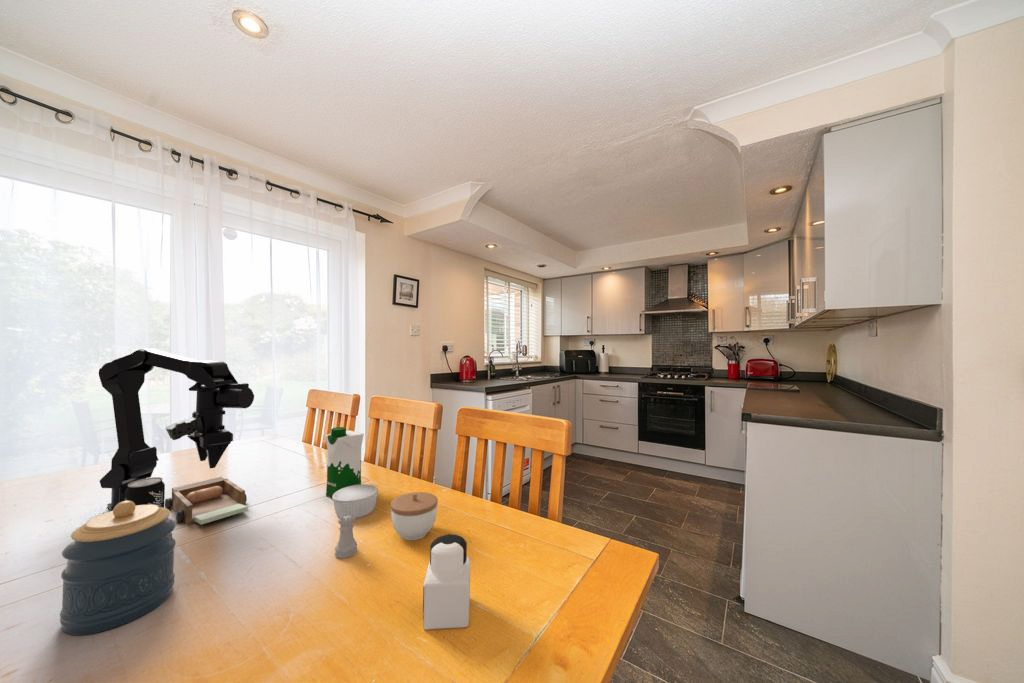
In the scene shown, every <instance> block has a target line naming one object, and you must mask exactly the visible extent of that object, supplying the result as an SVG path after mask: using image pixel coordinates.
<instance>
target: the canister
mask: <svg viewBox="0 0 1024 683" xmlns="http://www.w3.org/2000/svg"><path fill="white" fill-rule="evenodd" d="M170 515H171V511H170V509H169V508H168V509H166V508H165V507H164V508H162V507H159V506H157V505H137V506H135V503H134V502H132V501H123V502H120V503H118V504H117V505H116V506H115V507H114V509H113V511H110V510H109V511H107V512H104V513H101V514H99V515H97V516H95V517H93V518H90V519H88V520H87V521H86V523H84V524H83V525H81V526H79V527H78V528H76V529H75V530H74V531H72V532H71V536H70V538H71V540H73V541H72V542H70V543H69V544H68V545H66V546H65V547H64V549H63V550H62V552H61V555H62V557H63V558H64V559H65V560H67V562H66V566H65V567H64V568H63V570H62V572H61V573H60V574H61V576H60V578H61V579H62V598H61V599H62V602H61V607H62V608H61V610H60V613H59V616H60V618H59V622H60V625H61V627H62V628H61V629H62V631H63V633H66V634H67V635H68V634H69V635H72V636H75V635H76V636H78V635H79V636H81V635H82V636H83V635H90V634H91V635H92V634H95V633H96V634H97V633H100V632H105V631H107V630H110V629H114V628H117V627H120V626H122V625H125V624H127V623H130V622H132V621H134V620H136V619H138V618H141V617H142V616H144V615H146V614H148V613H149V612H151V611H153V610H154V609H155V608H158V607H159V606H160V605H161V604H162V603H163V602H165V601H166V600H167V599H168V598H169V596H170V595H171V593H172V592H173V586H174V585H175V576H176V575H175V573H174V565H175V564H174V563H175V561H174V560H175V546H176V540H175V538H174V537H173V534H172V532H173V531H174V529H175V528H176V527H177V521H175V520H174V519H172V518H169V517H170Z"/></svg>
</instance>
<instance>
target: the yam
mask: <svg viewBox="0 0 1024 683" xmlns="http://www.w3.org/2000/svg"><path fill="white" fill-rule="evenodd" d="M222 493H223V489H222V487H220V486H214V487H210V488H206V489H202V490H198V491H194V492H191V493H189V494H188V495H187V496H186V499H187V500H188V501H189V502H190V503H191V504H195V503H199V502H202V501H206V500H210V499H214V498H217V497H219V496H220V495H221V494H222Z"/></svg>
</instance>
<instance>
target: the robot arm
mask: <svg viewBox="0 0 1024 683" xmlns="http://www.w3.org/2000/svg"><path fill="white" fill-rule="evenodd" d="M154 368H160V369H164V370H167V371H170V372H171V371H172V372H176V373H180V374H183V375H185V376H186V378H187V379H189V380H191V381H193V382H195V384H193V385H192V386H190V387H188V391H190V392H196V402H195V403H196V404H195V410H194V411H193V412H192V413H191V414H192V415H191V416H190V417H189V418H186V419H185V418H184V419H183V420H179V421H177V422H175V423H172V424H169V425H167V426H165V430H166V432H167V434H168V436H169V438H170V439H171V440H172V441H176V440H179V439H181V438H182V437H184V436H187V438H188V439H190V440H191V441H192V442H194V444H195V446H196V447H195V448H196V451H197V454H198V458H199V461H200V462H204V461H206V460H207V461H208V466H209V469H215V468H216V467H217V465H218V463H219V461H220V460H221V458H222V456H223V455H224V453H225V451H226V450H227V448H228V447H229V445H230V444H231V442H234V433H232V432H231V431H229V430H227V429H225V428H226V426H225V425H224V424H223V420H224V419H223V417H224V415H226V410H224V409H249V407H251V406H252V404H253V402H254V401H255V394H254V392H253V389H252V388H250V387H249V386H250V383H247V382H246V383H245V382H244V383H239V382H238V380H237V379H236V378H235V376H234V375H233V373H232V371H231V370H230V369H229V366H228V364H227V363H226V362H224V361H217V360H199V359H193V358H191V357H190V358H189V357H184V356H181V355H178V354H173V353H169V352H166V351H161V350H159V349H157V348H140V349H137V350H135V351H133V352H131V353H130V354H128V355H124V356H122V357H118V358H116V359H114V360H112V361H110V362H105V363H104V364H103V365H102V367H100V368H99V369H98V377H99V380H100V383H101V386H102V388H104V390H105V391H107V393H109V394H110V396H111V399H112V406H113V413H114V421H115V422H114V423H115V431H116V437H117V450H116V451H115V454H114V455H113V457H112V458H111V469H110V470H109V471H107V472H106V474H105V475H104V476H102V478H101V479H99V484H100V487H101V488H102V489H111V497H110V498H111V499H110V500H111V501H110V503H107V504H106V505H107V508H108V509H109V512H110V511H113V509H114V507H115V506H116V505H117V504H118V503H120V502H123V501H125V491H126V490H127V488H128V484H129V483H131V482H134V481H137V480H141V479H145V478H152V475H153V473H154V470H155V468H156V467H157V463H158V461H159V457H158V455H157V454H158V453H157V450H158V449H157V447H156V446H152V447H151V446H149V445H148V444H147V443H146V441H145V434H144V428H143V418H142V410H141V405H140V404H141V403H140V395H139V391H140V389H141V388H142V386H143V385H144V383H145V376H146V374H148V373H150V372H151V371H152V370H153V369H154Z"/></svg>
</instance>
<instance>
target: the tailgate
mask: <svg viewBox="0 0 1024 683" xmlns="http://www.w3.org/2000/svg"><path fill="white" fill-rule="evenodd" d="M248 508H249V507H248V505H246V504H245V505H242V504H240V503H239V504H236V505H232V506H229V507H225V508H222V509H218V510H215V511H211V512H208V513H204V514H201V515H197V516H194V521H196V522H195V523H197V524H199V525H202V526H203V525H204V524H209V523H211V522H214V521H217V520H221V519H225V518H228V517H231V516H235V515H237V514H240V513H241V514H242V513H244V512H248V510H249V509H248Z"/></svg>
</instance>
